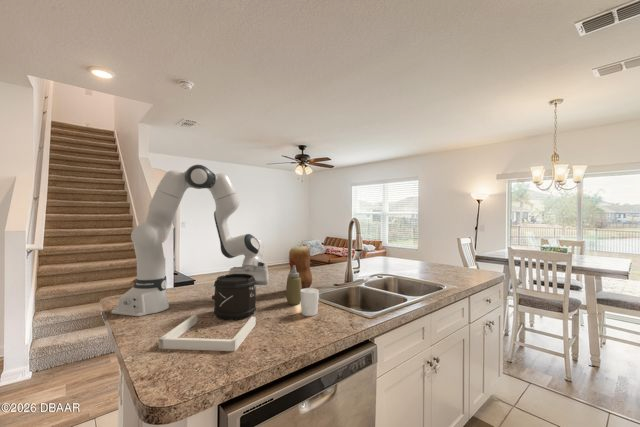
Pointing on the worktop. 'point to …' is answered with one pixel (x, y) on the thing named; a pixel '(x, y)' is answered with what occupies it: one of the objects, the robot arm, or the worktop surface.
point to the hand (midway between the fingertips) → (244, 291)
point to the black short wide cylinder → (234, 296)
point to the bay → (174, 342)
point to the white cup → (309, 301)
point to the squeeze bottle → (293, 287)
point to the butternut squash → (301, 264)
